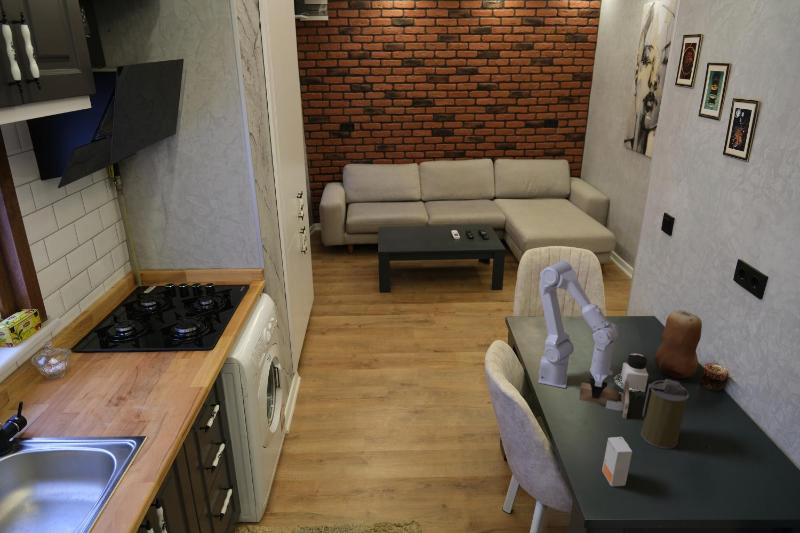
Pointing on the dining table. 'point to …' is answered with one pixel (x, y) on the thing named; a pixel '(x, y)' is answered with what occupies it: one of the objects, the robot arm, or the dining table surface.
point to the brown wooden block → (606, 394)
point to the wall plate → (626, 398)
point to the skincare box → (617, 461)
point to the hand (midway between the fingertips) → (595, 393)
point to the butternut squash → (679, 345)
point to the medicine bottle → (635, 372)
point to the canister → (664, 413)
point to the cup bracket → (616, 403)
